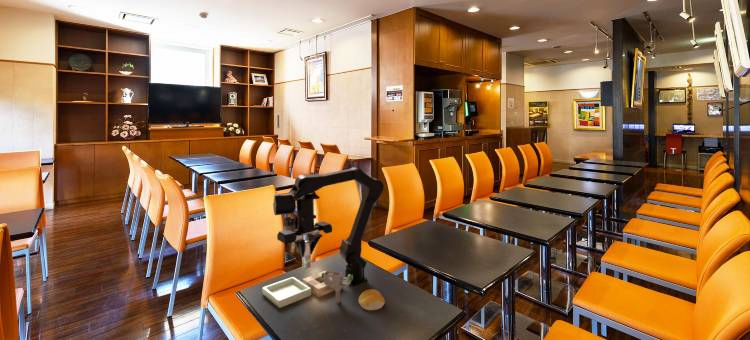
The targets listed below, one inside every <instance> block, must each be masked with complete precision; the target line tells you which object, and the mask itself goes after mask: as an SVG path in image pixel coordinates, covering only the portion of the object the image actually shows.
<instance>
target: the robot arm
mask: <svg viewBox="0 0 750 340" xmlns="http://www.w3.org/2000/svg"><path fill="white" fill-rule="evenodd" d="M350 181H356V182H357V183H359V184H360V185H361V200H360V203H359V207H358V209H357V212H356V215H355V218H354V222H353V224H352V227H351V231H350V233H349V235H348V237H347V238H346V239H345V238H342V239H341V243H340V246H339V247H338V249H339V255H340V257H341V258H342V259H343V260H344V262H345V263H346V264H347V265H345V274H344V275H345V276H344V277H348V274H351V275H353V280H351V283H350V285H352V286H357V285H359V284H361V283H363V282H365V281H367V280H368V278H367V277H366V276H365V268H366V266H367V263H368V262H367V261H366V260H365V259H364V258H363V257H362V256H361V255H362V241H363V237H364V234H365V231H366V228H367V225H368V222H369V219H370V216H371V214H372V213H371V212H372V211H373V208H374V205H375V203H377V201H378V200H379V199H380V198H381V196H382V194H383V191H384V189H385V185H384V184H383V181H382V180H380V179H377V178H374V177H371V176H370V175H368V174H367V173H365V172H364V171H363V170H362V169H361V168H358V167H355V166H353V167H350V168H347V169H342V170H336V171H332V172H331V171H330V172H327V173H322V174H316V173H315V174H314V173H313V174H312V173H310V174H309V173H307V174H300V175H298V176H297V177H296V178H295V181H294V185H292V187H291V189H290V190H289V191H288V193H283V194H280V193H274V195H273V197H274V198H273V204H272V206H273V207H272V208H273V214H274V216H283V215H292V214H293V213H294V212H295V211H296V214H294V218H292V217H291V216H286V217H283V225H284V227H285V228H287V227H289V229H284V230H280V231H278V232H277V236H276V239H277V241H279V242H281V243H282V244H285V245H288V244H292V243H294V245H295V246H296V248H297V250H298V251H297V252H298V253H299V256H300V257H301V258H302V257H303V256H304V246H305V240H306V239H304V238H303V236H306V235H307V238H308V240H309V241H310V242H311V256H312V255H313V252H314V251H315V249H316V246H317V244H318V243H319V241H320V239H321V238H323V234H321V231H322V232H323V233H324V234H330V233H332V232H333V226H332V224H331V223H328V222H326V221H324V220H322V221H318V222H315V219H317V215H316V214H315V208H314V206H315V203H314V201H315V200H319V199H320V198H321V196H319V195H318V194H317V193H316V191H319V190H321V189H322V188H324V187H328V186H332V185H337V184H341V183H345V182H346V183H347V182H350ZM290 229H293V230H295V231H293V230H290Z"/></svg>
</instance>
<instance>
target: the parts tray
mask: <svg viewBox="0 0 750 340" xmlns="http://www.w3.org/2000/svg"><path fill="white" fill-rule="evenodd" d="M262 295H263V296H264V297H265V298H267V300H268V301H270V302H271V303H273V304H274V305H275V306H276V307H277V308H279V309H281V308H283V307H285V306H287V305H290V304H294V303H296V302H298V301H301V300H303V299H305V298H308V297H310V296H312V292H311V288H310V287H308V286H307V285H305V284H304V283H303V281H301V280H300V279H298V278H296V277H294V276H292V277H288V278H286V279H283V280H282V279H281V280H280V281H277V282H274V283H271V284H268V285H266V286H263V287H262Z"/></svg>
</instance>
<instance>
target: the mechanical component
mask: <svg viewBox="0 0 750 340" xmlns="http://www.w3.org/2000/svg"><path fill="white" fill-rule="evenodd" d="M325 271H326V272H325V273H322V278H323V279H324V283H325V285H327V286H334V290H335V291H334V292H335V303H336V304H340V303H341V291H342V290H343V288H348V287H350V285H351V280H353V275H351V274H348V277H345V276H344V275H343V273H342V272H341V271H332V270H331V271H330V270H325ZM330 277H331V278H332V279H331V278H330ZM341 287H342V288H341Z"/></svg>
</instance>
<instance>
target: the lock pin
mask: <svg viewBox="0 0 750 340" xmlns="http://www.w3.org/2000/svg"><path fill="white" fill-rule="evenodd" d="M304 240H305V246H304V256H303V257H301V261H302V262H301V267H302V268H303V269H310V268H311V267H312V255H311V242H310V241H309V239H307V240H306V239H304Z"/></svg>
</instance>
